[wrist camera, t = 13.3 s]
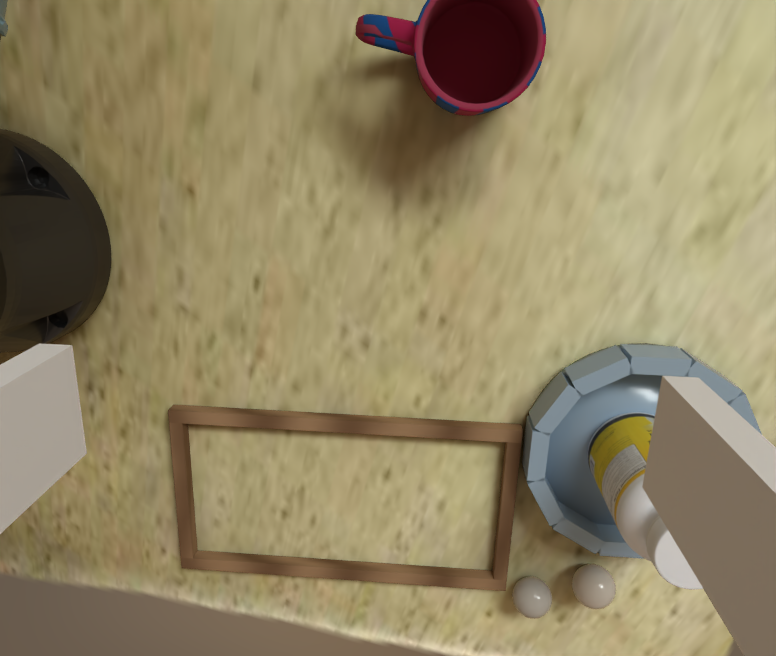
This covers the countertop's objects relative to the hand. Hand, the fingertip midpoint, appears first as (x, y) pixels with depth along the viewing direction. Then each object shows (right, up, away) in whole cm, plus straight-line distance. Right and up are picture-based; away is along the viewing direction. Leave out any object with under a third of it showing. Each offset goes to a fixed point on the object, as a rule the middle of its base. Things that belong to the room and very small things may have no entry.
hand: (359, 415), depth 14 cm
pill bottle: (+18, -7, +30) cm, 36 cm away
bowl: (+18, -6, +31) cm, 37 cm away
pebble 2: (+16, -17, +35) cm, 42 cm away
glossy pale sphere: (+12, -18, +35) cm, 42 cm away
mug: (+4, +19, +24) cm, 31 cm away
